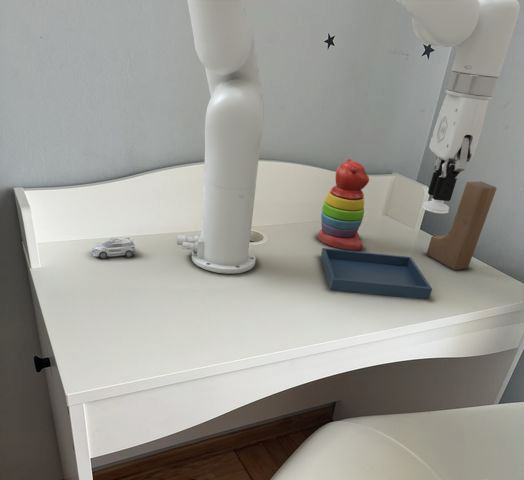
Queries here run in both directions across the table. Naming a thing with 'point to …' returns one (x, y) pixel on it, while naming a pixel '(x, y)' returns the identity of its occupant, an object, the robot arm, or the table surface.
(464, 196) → the wooden block
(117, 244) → the toy car
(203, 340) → the table surface
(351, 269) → the tray
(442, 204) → the chess piece
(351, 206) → the stacking bear
